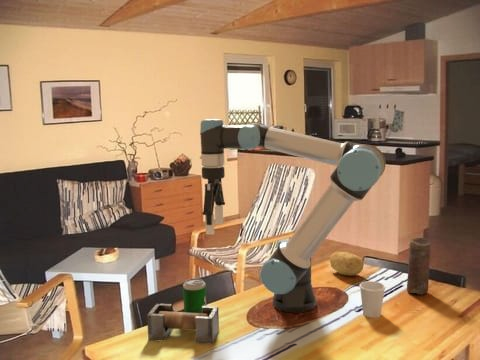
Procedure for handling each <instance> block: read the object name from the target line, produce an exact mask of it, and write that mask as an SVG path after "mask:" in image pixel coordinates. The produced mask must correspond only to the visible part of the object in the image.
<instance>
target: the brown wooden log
mask: <svg viewBox="0 0 480 360" xmlns="http://www.w3.org/2000/svg"><path fill="white" fill-rule="evenodd" d="M158 314H164V320H165V328H171V329H172V330H173V329H175V330H188V331H189V330H190V331H191V330H192V331H196V323H195V317H196V316H204V317H208V314H204V313H186V312H184V311H172V312H168V311H160V312H159V313H158Z"/></svg>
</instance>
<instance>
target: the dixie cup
mask: <svg viewBox="0 0 480 360" xmlns="http://www.w3.org/2000/svg"><path fill="white" fill-rule="evenodd" d="M359 288H360V289H359V290H360V297H361V307H362V315H363V316H364V317H367V318H371V319H375V318H377V319H378V318H380V317H381V315H382V308H383V301H384V295H385V289H386V288H387V287H386V285H385V284H384V283H382V282H379V281H374V280H373V281H372V280H369V281H367V280H365V281H362V282H361V283H359Z"/></svg>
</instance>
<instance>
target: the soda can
mask: <svg viewBox="0 0 480 360" xmlns="http://www.w3.org/2000/svg"><path fill="white" fill-rule="evenodd" d="M206 286H207V284H206V282H205V281H204V280H203V279H201V278H189V279H186V280H185V281H184V283H183V284H182V293H183V312H186V313H202V306H207V287H206Z"/></svg>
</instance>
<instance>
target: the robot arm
mask: <svg viewBox="0 0 480 360" xmlns="http://www.w3.org/2000/svg"><path fill="white" fill-rule="evenodd" d="M199 135H200V149H201V151H200V154H201V155H200V156H199V159H200V160H201V166H202V167H201V178H202V179H204V180H207V183H205V184H204V199H203V200H204V201H203V211H202V213H201V214H202V216H205V217H204V218H205V235H212V236H213V235H215V234H216V233H215V225H223V224H224V206H225V205H226V201H225V198H224V190H223V184H222V179H224V178H225V173H226V172H225V167H224V165H225V150H227V149H233V150H234V149H235V150H236V149H237V150H238V149H239V150H243V149H244V150H253V149H257V148H258V147H259V148H261V149H262V148H263V149H267V150H271V151H275V152H279V153H283V154H287V155H291V156H295V157H299V158H302V159H306V160H310V161H315V162H318V163H322V164H326V165H329V166H335V167H336V168H335V169H334V170H333V172H332V173H331V174H330V175H329V180H330V185H329V186H328V187H327V188H326V190H325V191H324V193H323V194H322V195H321V196H320V197H319V199H318V201H317V202H316V204H314V206H313V208H312V209H311V210H310V211H309V213H307V215H306V217H305V218H304V220H303V221H302V222H301V224H299V226H298V227H297V229H296V230H295V231H294V233H293V234H292V235H291V237H290V238H289V239H285V238H284V239H281V240H278V241H277V245H276V249H275V251H274V252H273V253H272V254H271V256H270V257H269V258H268V259H267V260H266V261H265V262H264V263H263V264H262V266H261V268H260V279H261V282H262V284H263V286H264V287H265V288H266V289H267V290H268V291H269V292H271V293H273V297H272V305H273V304H274V305H273V307H274V306H275V307H277V308H278V309H277V308H276V309H277V310H279V309H280V310H279V311H281V310H282V311H281V312H287V313H292V314H293V313H295V314H297V313H299V314H300V313H306V312H309V311H312V310H314V309H315V308H316V307H317V296H316V294H315V291H314V288H313V285H312V257H313V255H314V254H315V252H316V251H317V250H318V249H319V247H321V245H322V244H323V242H324V241H325V240H326V238H327V237H328V236H329V234H330V233H331V232H332V231H333V230H334V229H335V226H337V224H338V222H340V220H341V219H342V218H343V216H344V215H345V214H346V213H347V211H348V210H349V209H350V207H352V205H353V203H354V202H357V201H362V200H363V199H364V198H365V197H366V196H367V194H368V193H369V192H370V191H371V189H372V188H373V186H375V185H376V183H377V182H378V180H379V179H380V178H381V177H382V176H383V174H384V172H385V169H386V164H387V163H386V157H385V155H384V154H383V152H382V151H381V149H379V148H377V147H376V146H374V145H371V144H363V143H362V144H361V143H357V142H356V143H355V142H351V141H349V140H348V141H345V142H344V143H341V142H338V141H337V142H336V141H334V140H333V141H332V140H328V139H324V138H321V137H316V136H312V135H307V134H303V133H299V132H294V131H291V130H290V131H289V130H287V129H282V128H277V127H273V126H269V125H266V124H264V123H261V122H252V123H246V124H239V125H238V124H236V125H226V124H224V121H223V119H221V118H219V119H218V118H207V119H201V121H200V132H199ZM315 306H316V307H315ZM275 307H274V308H275ZM314 307H315V308H314ZM313 308H314V309H313Z"/></svg>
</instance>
